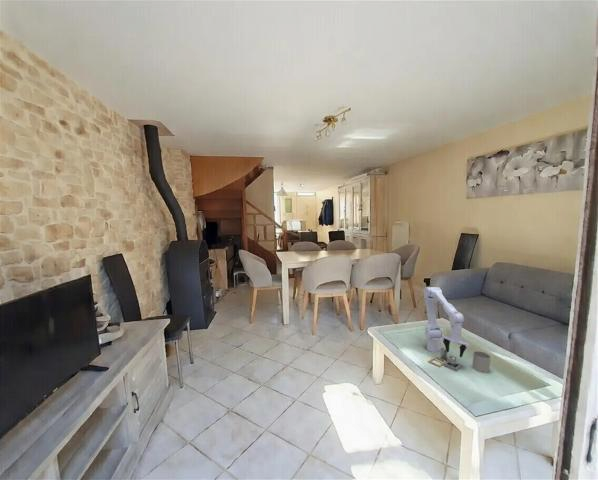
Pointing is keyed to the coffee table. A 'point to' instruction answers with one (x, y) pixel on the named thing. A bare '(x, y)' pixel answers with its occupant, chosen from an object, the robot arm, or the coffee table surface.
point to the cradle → (453, 367)
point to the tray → (437, 361)
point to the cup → (481, 362)
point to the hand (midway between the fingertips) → (454, 354)
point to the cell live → (452, 361)
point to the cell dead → (443, 354)
